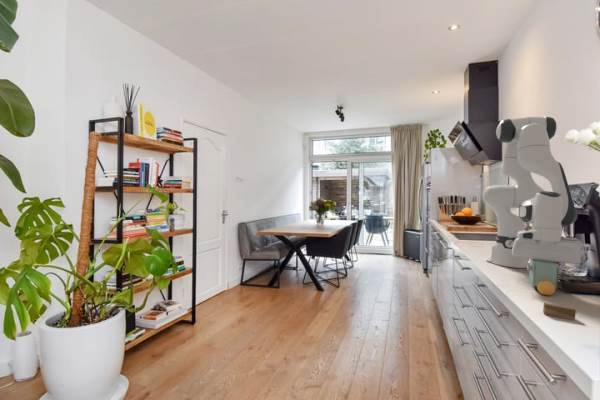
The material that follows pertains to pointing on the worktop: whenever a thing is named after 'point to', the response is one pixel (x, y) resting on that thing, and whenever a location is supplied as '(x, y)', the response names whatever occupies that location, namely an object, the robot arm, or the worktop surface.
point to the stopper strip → (559, 311)
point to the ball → (546, 288)
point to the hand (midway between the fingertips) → (543, 272)
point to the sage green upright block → (544, 272)
